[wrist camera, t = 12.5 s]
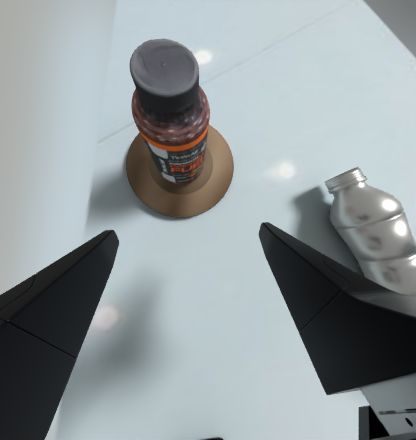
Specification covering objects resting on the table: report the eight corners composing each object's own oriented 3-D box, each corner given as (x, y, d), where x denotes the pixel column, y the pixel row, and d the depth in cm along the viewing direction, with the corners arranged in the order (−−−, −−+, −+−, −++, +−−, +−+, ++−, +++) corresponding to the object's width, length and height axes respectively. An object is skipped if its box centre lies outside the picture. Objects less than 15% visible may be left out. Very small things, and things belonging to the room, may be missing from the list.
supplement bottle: (177, 195, 19) (152, 130, 8) (148, 161, 19) (85, 52, 8) (213, 168, 20) (235, 76, 9) (184, 136, 20) (171, 8, 9)
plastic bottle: (456, 311, 18) (370, 162, 20) (506, 363, 13) (382, 154, 15) (378, 309, 22) (314, 186, 24) (392, 348, 17) (309, 187, 19)
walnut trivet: (127, 218, 19) (123, 217, 18) (131, 120, 21) (128, 114, 20) (234, 216, 20) (236, 214, 19) (229, 123, 22) (230, 117, 21)
